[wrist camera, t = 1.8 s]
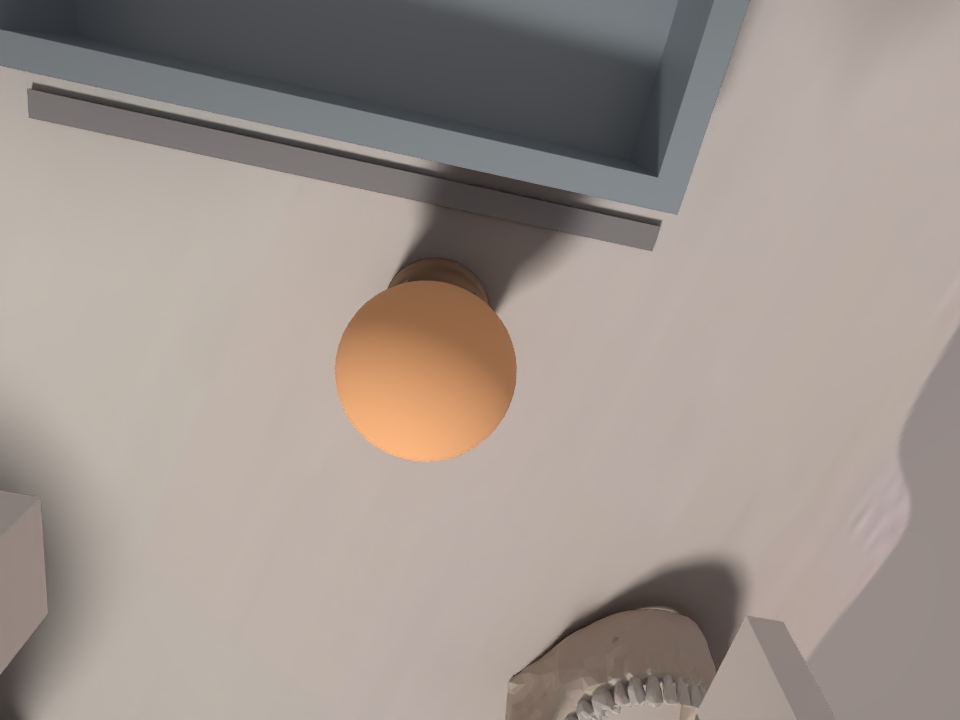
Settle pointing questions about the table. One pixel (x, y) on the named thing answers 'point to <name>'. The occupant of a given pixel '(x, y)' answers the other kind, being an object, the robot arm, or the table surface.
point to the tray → (421, 76)
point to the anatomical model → (616, 669)
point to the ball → (425, 370)
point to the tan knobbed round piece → (441, 275)
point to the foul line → (337, 169)
